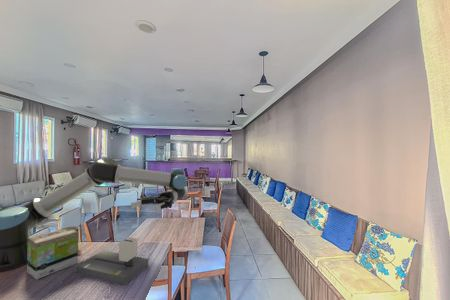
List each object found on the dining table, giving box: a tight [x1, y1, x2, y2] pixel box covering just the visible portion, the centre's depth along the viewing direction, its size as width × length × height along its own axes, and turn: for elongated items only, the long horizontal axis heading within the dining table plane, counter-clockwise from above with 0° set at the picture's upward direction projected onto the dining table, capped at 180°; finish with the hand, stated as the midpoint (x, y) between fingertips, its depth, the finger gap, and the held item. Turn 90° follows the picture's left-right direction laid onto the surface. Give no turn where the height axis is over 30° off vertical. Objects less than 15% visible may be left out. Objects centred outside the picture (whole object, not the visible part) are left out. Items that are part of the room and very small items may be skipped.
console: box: [75, 249, 149, 286], centre depth 92 cm, size 25×14×3 cm, turn 73°
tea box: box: [26, 226, 79, 281], centre depth 93 cm, size 15×10×15 cm
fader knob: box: [118, 237, 138, 267], centre depth 90 cm, size 4×6×10 cm, turn 163°
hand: (143, 207), depth 102 cm, fingers open, 13 cm apart
